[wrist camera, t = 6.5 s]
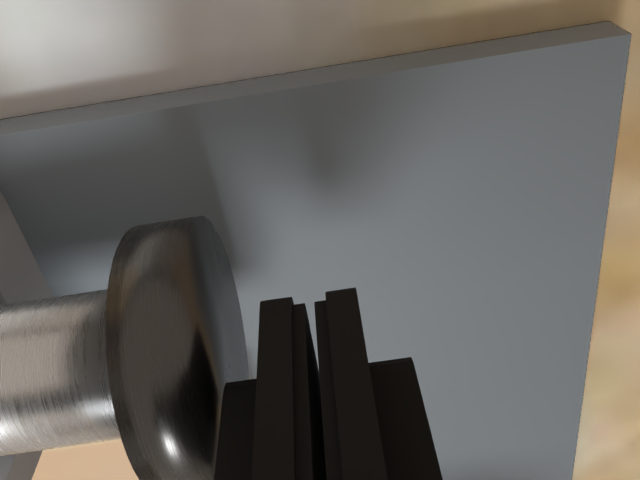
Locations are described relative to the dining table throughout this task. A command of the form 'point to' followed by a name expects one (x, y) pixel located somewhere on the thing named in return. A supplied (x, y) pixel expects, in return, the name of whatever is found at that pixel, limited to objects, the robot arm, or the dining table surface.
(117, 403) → the shaft
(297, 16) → the dining table surface
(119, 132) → the rig
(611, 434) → the dining table surface
